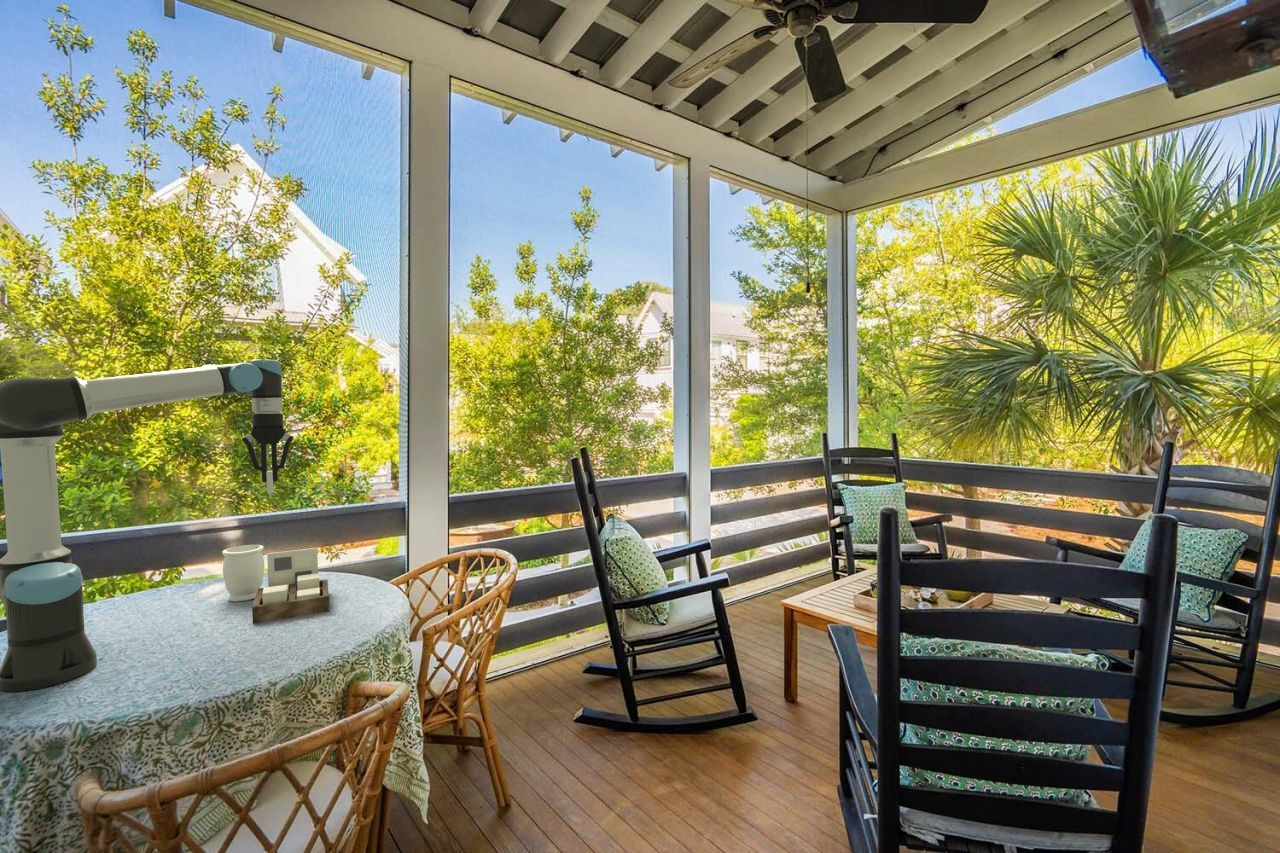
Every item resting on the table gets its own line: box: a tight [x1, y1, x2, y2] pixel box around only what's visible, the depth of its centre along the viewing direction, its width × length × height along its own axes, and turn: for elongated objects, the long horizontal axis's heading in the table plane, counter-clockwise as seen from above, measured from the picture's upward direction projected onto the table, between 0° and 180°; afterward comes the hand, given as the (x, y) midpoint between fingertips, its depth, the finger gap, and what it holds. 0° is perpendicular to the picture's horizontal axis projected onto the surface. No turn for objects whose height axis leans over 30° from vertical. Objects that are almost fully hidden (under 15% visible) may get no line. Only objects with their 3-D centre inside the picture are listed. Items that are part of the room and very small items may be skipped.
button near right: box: [297, 587, 320, 599], centre depth 165 cm, size 6×6×4 cm
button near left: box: [262, 585, 288, 604], centre depth 161 cm, size 6×6×4 cm
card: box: [266, 547, 319, 587], centre depth 176 cm, size 13×1×14 cm, turn 119°
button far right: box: [297, 572, 320, 590], centre depth 172 cm, size 6×6×4 cm
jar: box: [222, 544, 265, 602], centre depth 176 cm, size 11×10×15 cm
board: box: [251, 578, 330, 625], centre depth 167 cm, size 18×18×4 cm
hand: (270, 493), depth 171 cm, fingers closed
